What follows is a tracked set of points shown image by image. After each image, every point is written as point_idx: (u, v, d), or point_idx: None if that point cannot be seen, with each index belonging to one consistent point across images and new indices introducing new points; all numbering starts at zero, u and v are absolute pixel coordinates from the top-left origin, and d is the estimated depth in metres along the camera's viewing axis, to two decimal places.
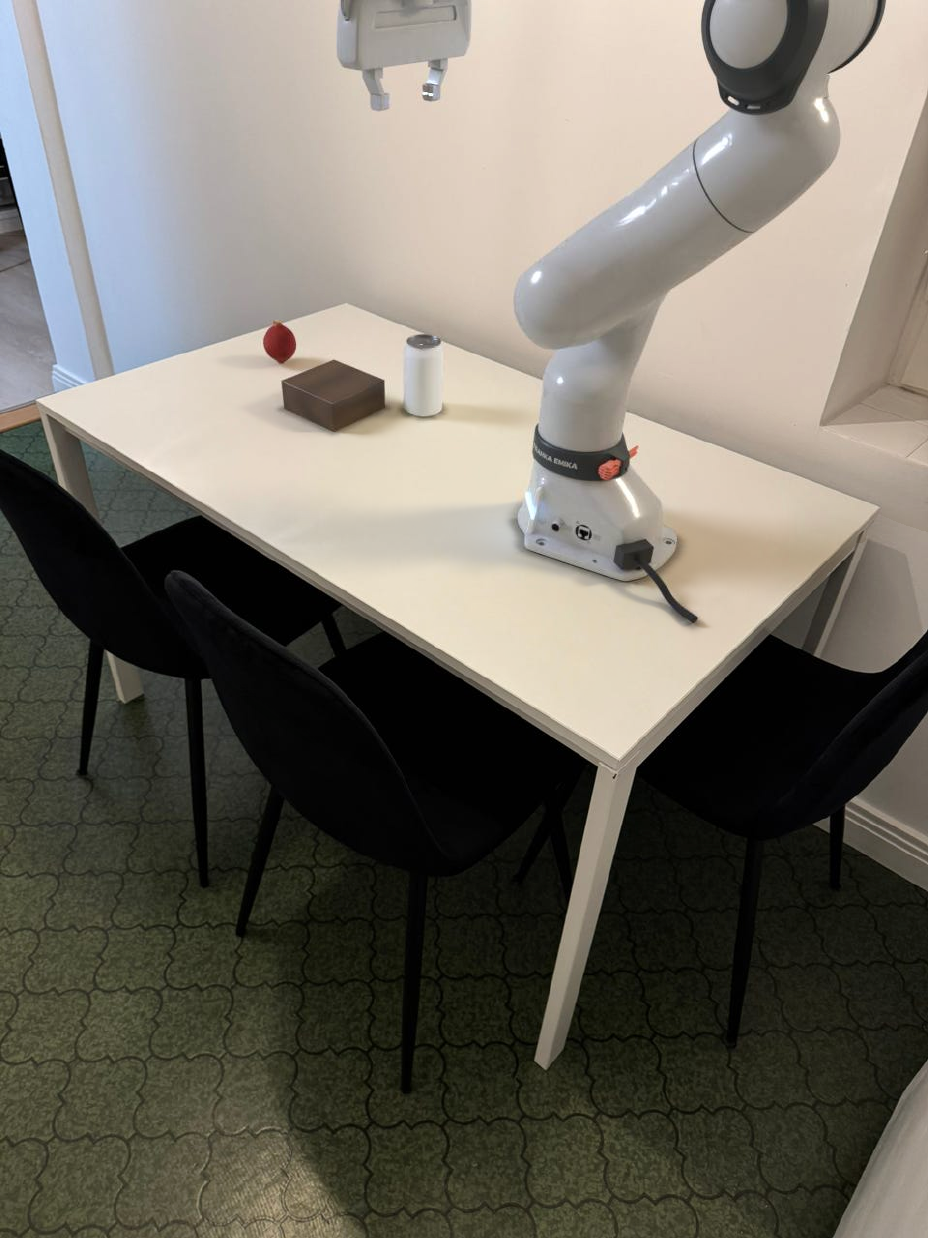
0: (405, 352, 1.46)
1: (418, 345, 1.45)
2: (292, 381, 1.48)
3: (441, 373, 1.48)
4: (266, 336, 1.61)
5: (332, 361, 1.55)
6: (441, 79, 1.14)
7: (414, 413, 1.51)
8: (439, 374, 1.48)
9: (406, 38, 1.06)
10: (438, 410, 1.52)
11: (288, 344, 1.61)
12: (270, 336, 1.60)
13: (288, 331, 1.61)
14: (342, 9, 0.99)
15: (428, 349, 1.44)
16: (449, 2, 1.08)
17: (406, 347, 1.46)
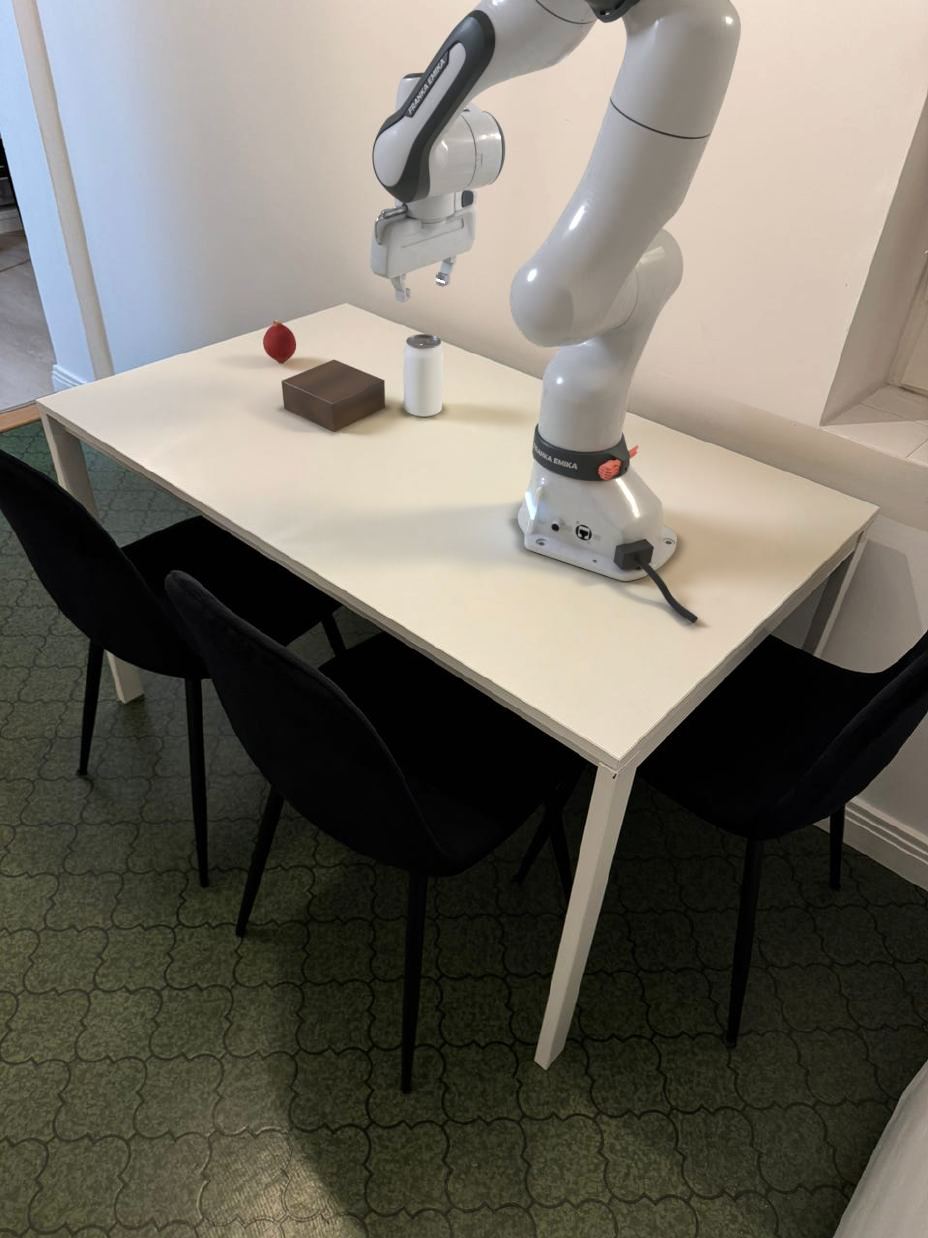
0: (405, 352, 1.46)
1: (418, 345, 1.45)
2: (292, 381, 1.48)
3: (441, 373, 1.48)
4: (266, 336, 1.61)
5: (332, 361, 1.55)
6: (451, 270, 1.42)
7: (414, 413, 1.51)
8: (439, 374, 1.48)
9: (424, 249, 1.34)
10: (438, 410, 1.52)
11: (288, 344, 1.61)
12: (270, 336, 1.60)
13: (288, 331, 1.61)
14: (376, 237, 1.28)
15: (428, 349, 1.44)
16: (458, 217, 1.37)
17: (406, 347, 1.46)
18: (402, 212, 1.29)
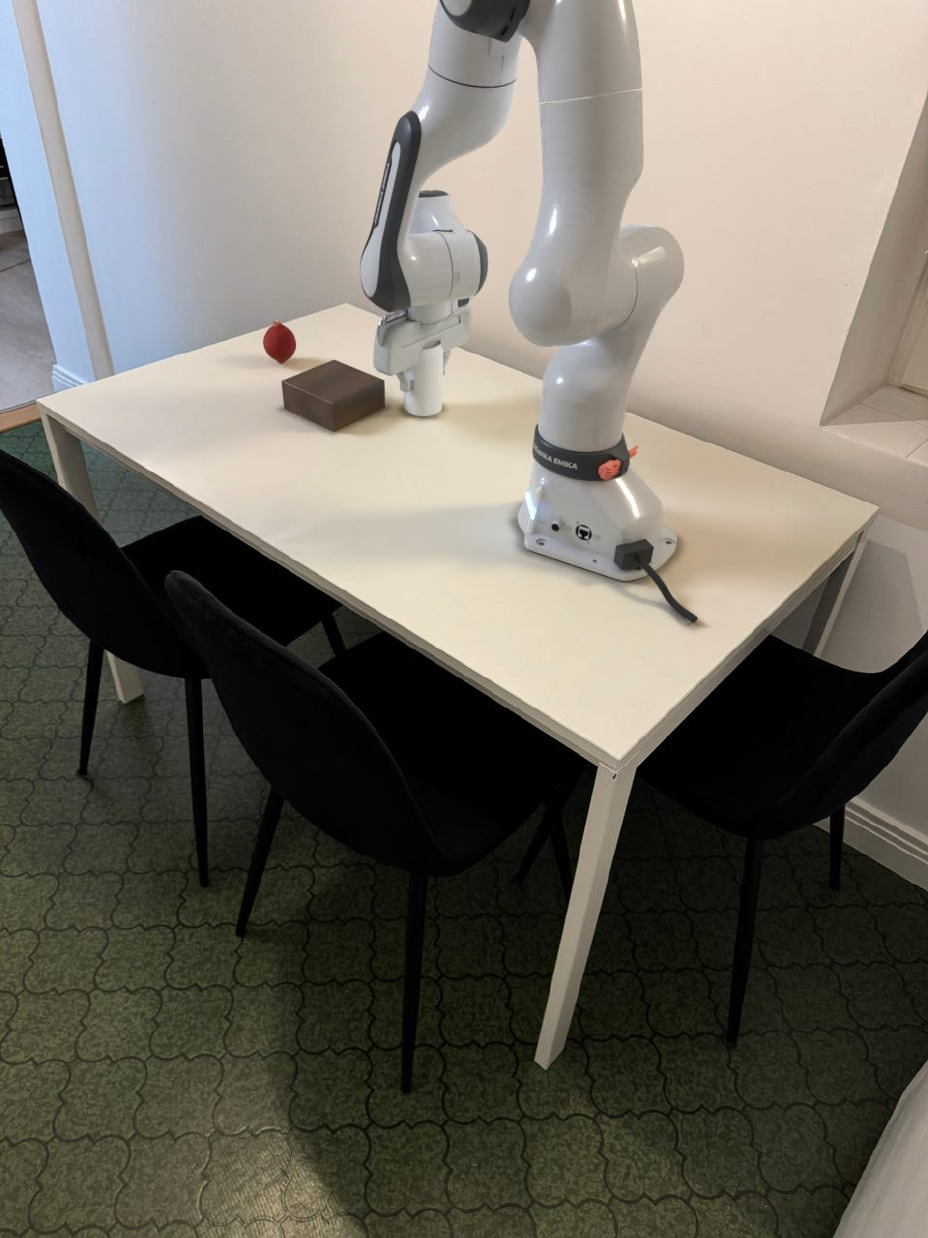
0: None
1: None
2: (292, 381, 1.48)
3: (441, 373, 1.48)
4: (266, 336, 1.61)
5: (332, 361, 1.55)
6: (445, 362, 1.51)
7: (414, 413, 1.51)
8: (439, 374, 1.48)
9: (424, 346, 1.44)
10: (438, 410, 1.52)
11: (288, 344, 1.61)
12: (270, 336, 1.60)
13: (288, 331, 1.61)
14: (378, 340, 1.38)
15: (428, 349, 1.44)
16: (455, 315, 1.46)
17: None
18: (403, 315, 1.39)
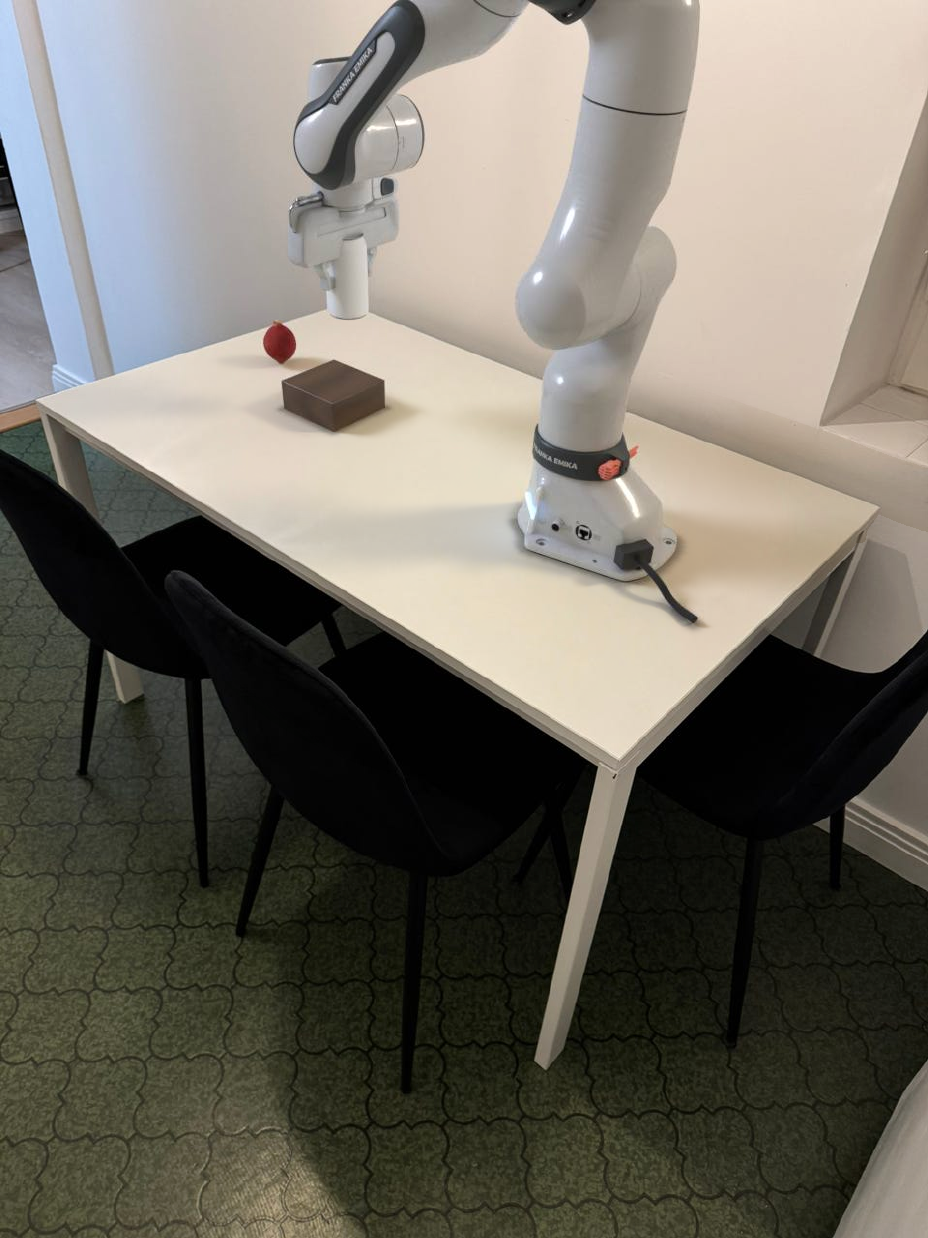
0: None
1: None
2: (292, 381, 1.48)
3: (365, 270, 1.37)
4: (266, 336, 1.61)
5: (332, 361, 1.55)
6: (372, 261, 1.40)
7: (337, 315, 1.40)
8: (363, 271, 1.36)
9: (344, 238, 1.33)
10: (364, 313, 1.40)
11: (288, 344, 1.61)
12: (270, 336, 1.60)
13: (288, 331, 1.61)
14: (290, 225, 1.26)
15: (348, 241, 1.33)
16: (379, 206, 1.35)
17: None
18: (318, 200, 1.28)
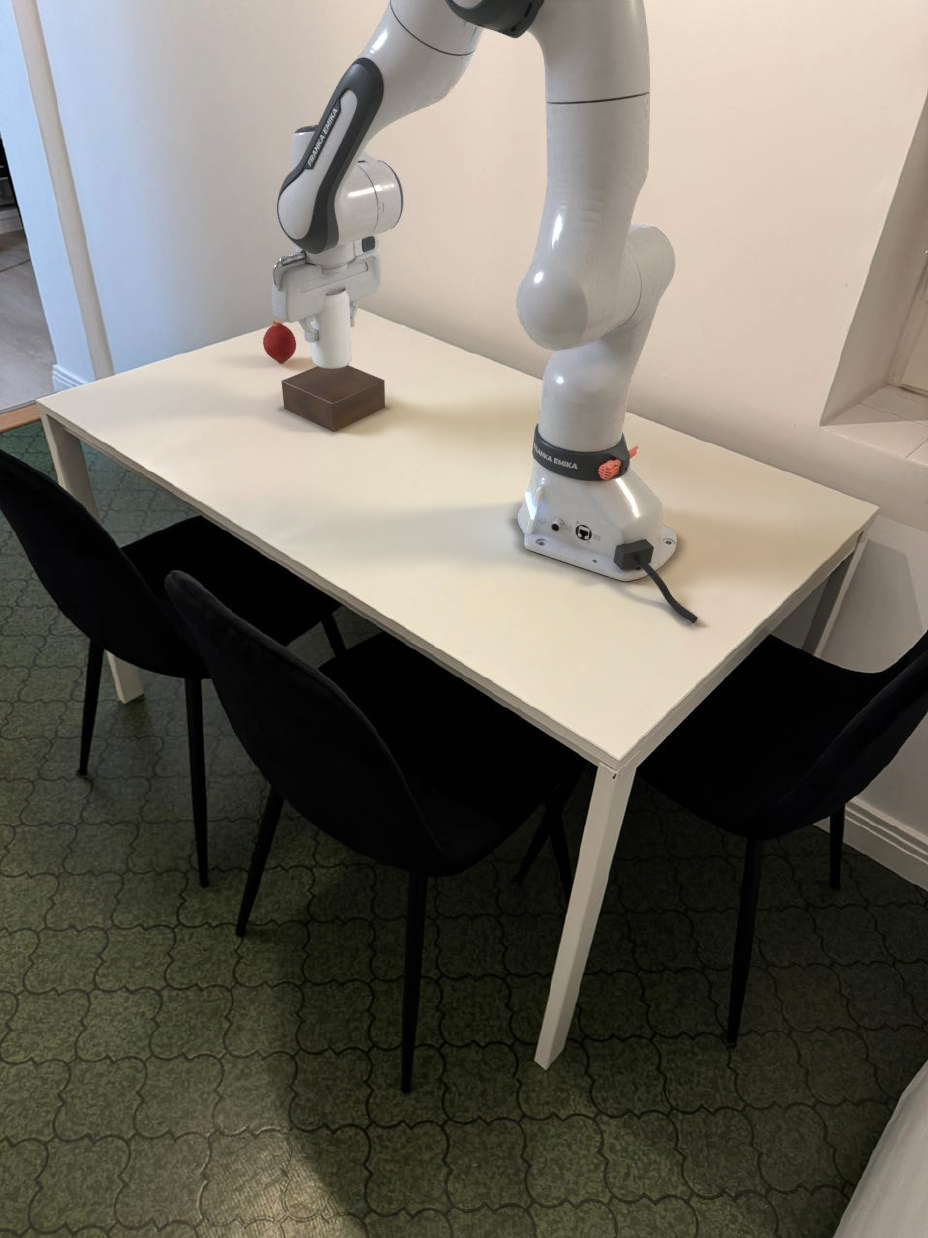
0: None
1: None
2: (292, 381, 1.48)
3: (347, 322, 1.42)
4: (266, 336, 1.61)
5: None
6: (354, 313, 1.45)
7: (321, 365, 1.44)
8: (345, 323, 1.41)
9: (327, 293, 1.38)
10: (347, 362, 1.45)
11: (288, 344, 1.61)
12: (270, 336, 1.60)
13: (288, 331, 1.61)
14: (274, 284, 1.31)
15: (331, 296, 1.38)
16: (361, 261, 1.40)
17: None
18: (301, 259, 1.32)
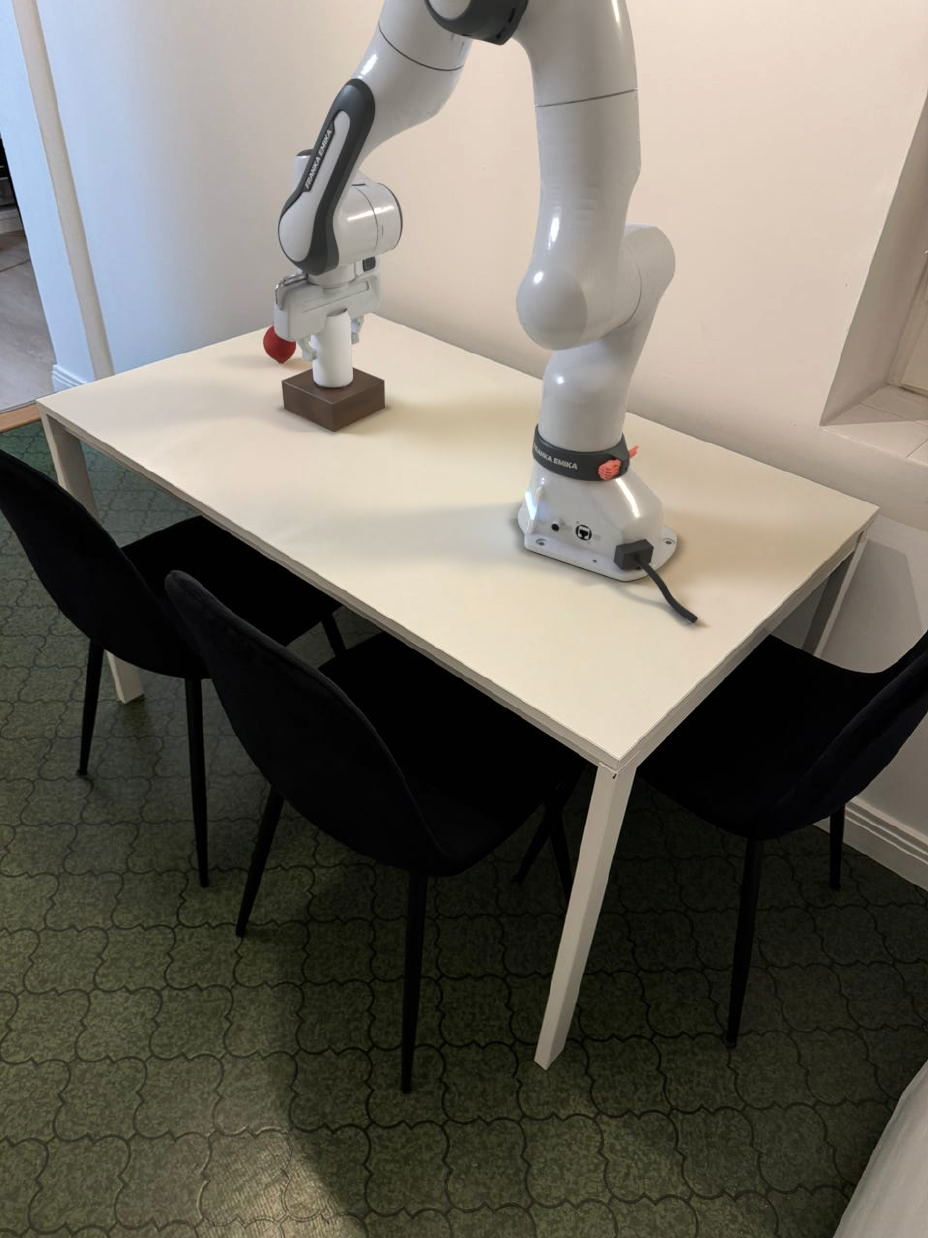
0: None
1: None
2: (292, 381, 1.48)
3: (349, 342, 1.44)
4: (266, 336, 1.61)
5: None
6: (359, 329, 1.48)
7: (323, 384, 1.47)
8: (347, 343, 1.43)
9: (328, 312, 1.39)
10: (348, 381, 1.47)
11: (288, 344, 1.61)
12: (270, 336, 1.60)
13: None
14: (276, 303, 1.33)
15: (332, 317, 1.40)
16: (362, 280, 1.42)
17: None
18: (302, 279, 1.34)
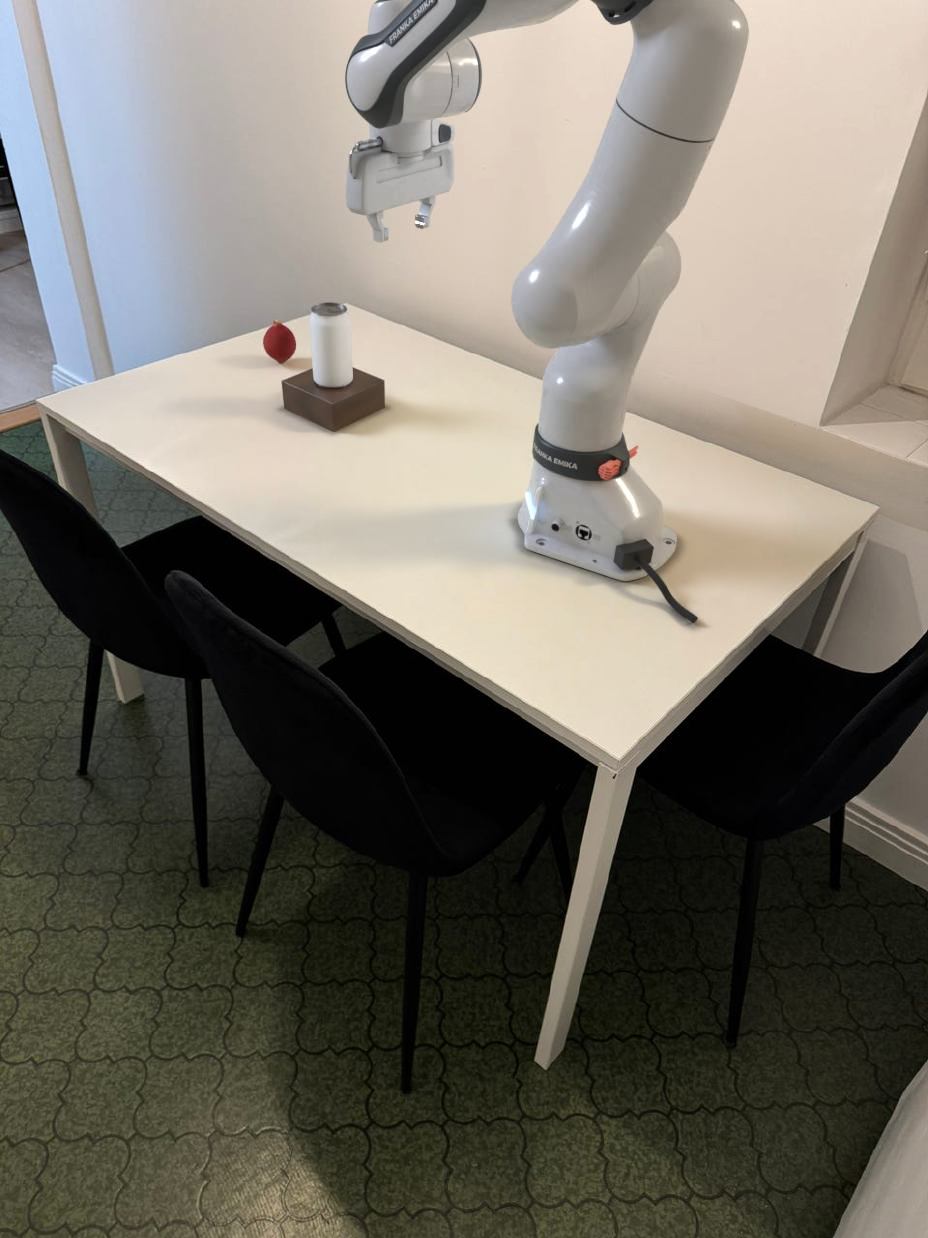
0: (310, 320, 1.41)
1: (323, 313, 1.41)
2: (292, 381, 1.48)
3: (349, 342, 1.44)
4: (266, 336, 1.61)
5: None
6: (430, 211, 1.39)
7: (323, 384, 1.47)
8: (347, 343, 1.43)
9: (402, 186, 1.31)
10: (348, 381, 1.47)
11: (288, 344, 1.61)
12: (270, 336, 1.60)
13: (288, 331, 1.61)
14: (350, 171, 1.24)
15: (332, 317, 1.40)
16: (436, 154, 1.33)
17: (311, 315, 1.41)
18: (377, 145, 1.26)
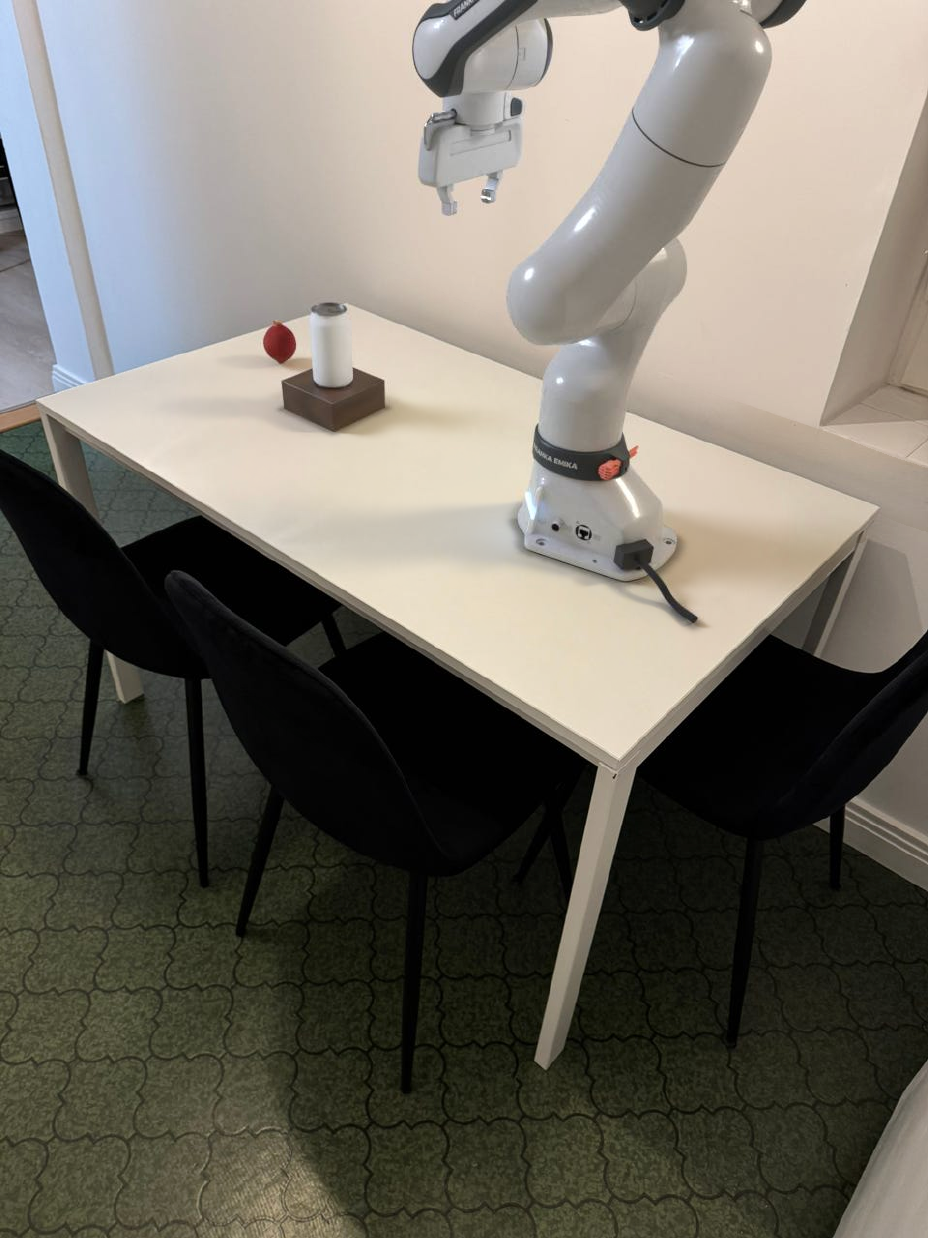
0: (310, 320, 1.41)
1: (323, 313, 1.41)
2: (292, 381, 1.48)
3: (349, 342, 1.44)
4: (266, 336, 1.61)
5: None
6: (497, 186, 1.39)
7: (323, 384, 1.47)
8: (347, 343, 1.43)
9: (472, 159, 1.31)
10: (348, 381, 1.47)
11: (288, 344, 1.61)
12: (270, 336, 1.60)
13: (288, 331, 1.61)
14: (424, 142, 1.25)
15: (332, 317, 1.40)
16: (506, 128, 1.33)
17: (311, 315, 1.41)
18: (451, 117, 1.26)
